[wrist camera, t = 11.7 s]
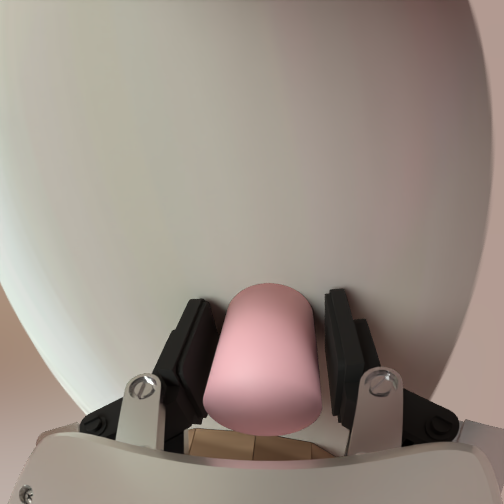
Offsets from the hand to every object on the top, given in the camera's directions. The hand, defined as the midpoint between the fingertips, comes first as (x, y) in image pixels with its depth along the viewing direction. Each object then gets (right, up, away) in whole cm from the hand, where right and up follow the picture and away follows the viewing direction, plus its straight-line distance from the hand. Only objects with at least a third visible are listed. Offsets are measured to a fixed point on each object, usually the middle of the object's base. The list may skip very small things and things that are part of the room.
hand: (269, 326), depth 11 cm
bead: (0, 0, 0) cm, 0 cm away
